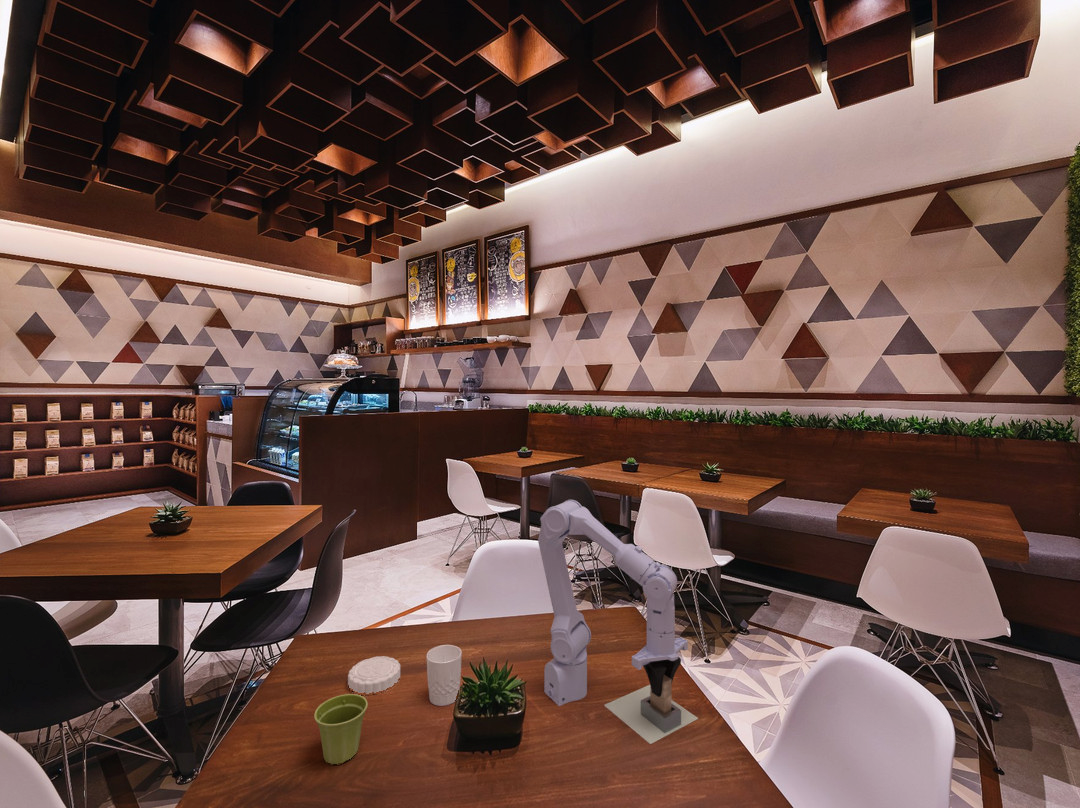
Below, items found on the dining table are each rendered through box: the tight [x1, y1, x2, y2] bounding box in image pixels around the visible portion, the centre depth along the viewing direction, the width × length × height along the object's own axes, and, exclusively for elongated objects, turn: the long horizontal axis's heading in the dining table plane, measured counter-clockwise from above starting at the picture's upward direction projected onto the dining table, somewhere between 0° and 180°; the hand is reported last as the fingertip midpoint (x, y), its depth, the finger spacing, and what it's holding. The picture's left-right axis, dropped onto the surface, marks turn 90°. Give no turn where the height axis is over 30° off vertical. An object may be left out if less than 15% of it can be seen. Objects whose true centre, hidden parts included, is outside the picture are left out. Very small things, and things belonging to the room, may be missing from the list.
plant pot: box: [313, 693, 368, 765], centre depth 91 cm, size 9×9×9 cm
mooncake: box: [347, 655, 401, 694], centre depth 114 cm, size 12×12×4 cm
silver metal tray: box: [641, 696, 681, 733], centre depth 99 cm, size 5×7×3 cm
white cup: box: [426, 644, 463, 707], centre depth 108 cm, size 8×8×10 cm
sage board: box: [603, 684, 699, 745], centre depth 101 cm, size 14×14×1 cm
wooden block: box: [650, 675, 673, 715], centre depth 99 cm, size 2×4×7 cm, turn 32°
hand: (660, 692), depth 99 cm, fingers closed on wooden block, 2 cm apart
